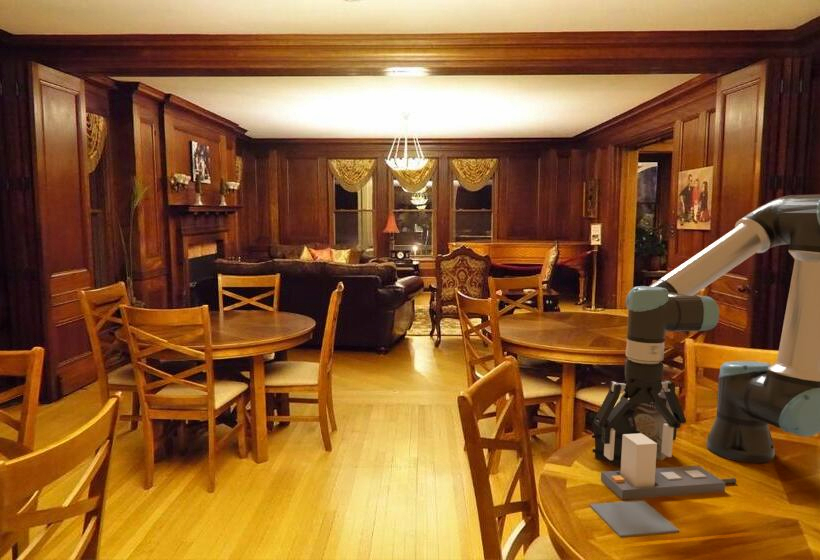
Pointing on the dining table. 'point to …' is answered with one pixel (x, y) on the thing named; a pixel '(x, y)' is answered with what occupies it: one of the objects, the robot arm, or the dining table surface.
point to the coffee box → (651, 422)
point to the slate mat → (633, 518)
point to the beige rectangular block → (638, 460)
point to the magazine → (621, 427)
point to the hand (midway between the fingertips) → (637, 456)
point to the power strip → (668, 483)
